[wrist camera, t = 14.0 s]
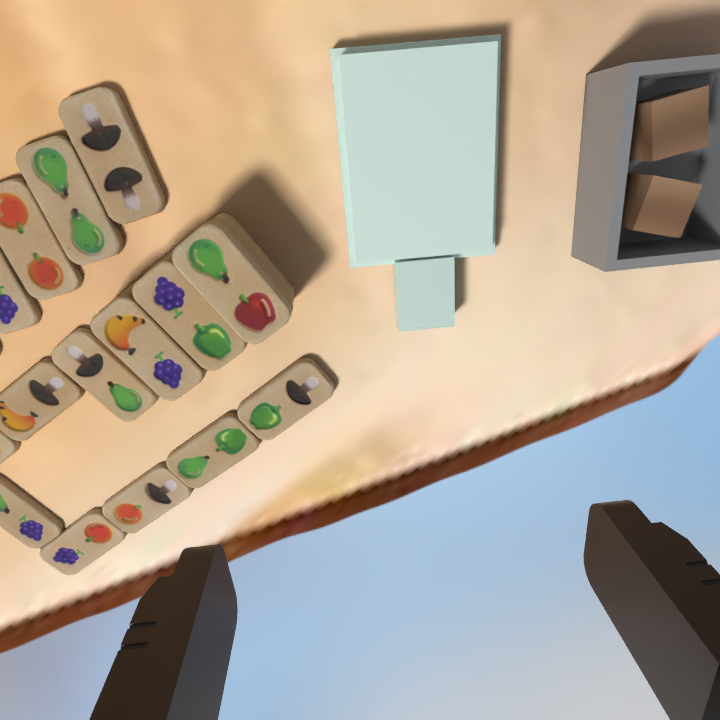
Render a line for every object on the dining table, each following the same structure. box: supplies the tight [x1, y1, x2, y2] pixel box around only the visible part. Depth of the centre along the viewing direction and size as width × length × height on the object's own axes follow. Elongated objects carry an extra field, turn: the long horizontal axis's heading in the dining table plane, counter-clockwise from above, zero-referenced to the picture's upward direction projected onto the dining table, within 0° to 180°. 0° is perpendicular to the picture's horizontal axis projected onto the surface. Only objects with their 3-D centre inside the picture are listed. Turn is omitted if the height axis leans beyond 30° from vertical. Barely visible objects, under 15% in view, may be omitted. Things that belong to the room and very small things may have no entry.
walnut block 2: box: [621, 173, 702, 238], centre depth 34 cm, size 4×4×3 cm
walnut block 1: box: [629, 85, 709, 162], centre depth 32 cm, size 4×4×3 cm
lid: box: [330, 34, 501, 332], centre depth 34 cm, size 18×11×2 cm, turn 5°
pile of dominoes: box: [0, 87, 334, 575], centre depth 37 cm, size 35×27×6 cm
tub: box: [571, 54, 720, 272], centre depth 32 cm, size 12×9×5 cm
